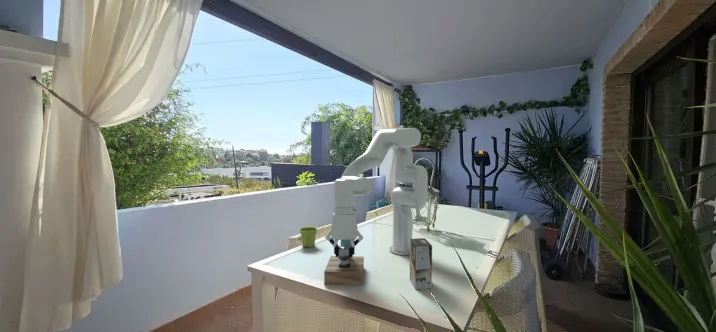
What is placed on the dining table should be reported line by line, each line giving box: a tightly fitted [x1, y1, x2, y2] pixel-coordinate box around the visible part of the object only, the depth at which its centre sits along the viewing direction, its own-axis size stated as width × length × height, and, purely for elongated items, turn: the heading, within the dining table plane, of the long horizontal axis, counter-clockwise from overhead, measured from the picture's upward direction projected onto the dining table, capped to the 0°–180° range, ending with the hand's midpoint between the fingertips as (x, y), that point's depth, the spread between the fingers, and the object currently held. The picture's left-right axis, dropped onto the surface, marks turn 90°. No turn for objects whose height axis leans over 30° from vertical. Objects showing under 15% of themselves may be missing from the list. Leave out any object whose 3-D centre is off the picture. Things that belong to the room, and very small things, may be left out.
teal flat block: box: [340, 240, 351, 246], centre depth 128 cm, size 12×5×1 cm
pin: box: [338, 244, 351, 268], centre depth 120 cm, size 5×5×9 cm
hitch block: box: [323, 246, 365, 286], centre depth 122 cm, size 16×14×10 cm
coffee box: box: [409, 237, 433, 290], centre depth 115 cm, size 9×6×16 cm
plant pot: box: [298, 226, 319, 248], centre depth 159 cm, size 9×9×9 cm
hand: (344, 255), depth 120 cm, fingers closed on pin, 5 cm apart
